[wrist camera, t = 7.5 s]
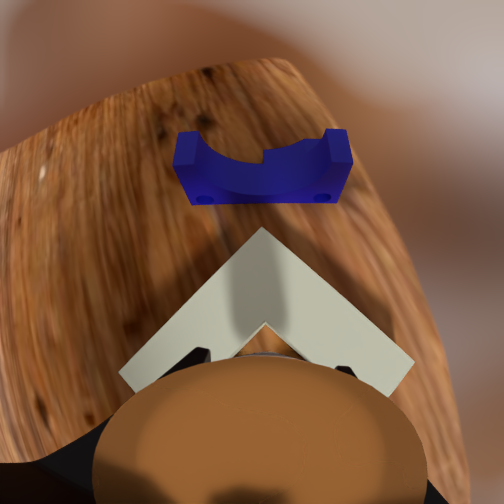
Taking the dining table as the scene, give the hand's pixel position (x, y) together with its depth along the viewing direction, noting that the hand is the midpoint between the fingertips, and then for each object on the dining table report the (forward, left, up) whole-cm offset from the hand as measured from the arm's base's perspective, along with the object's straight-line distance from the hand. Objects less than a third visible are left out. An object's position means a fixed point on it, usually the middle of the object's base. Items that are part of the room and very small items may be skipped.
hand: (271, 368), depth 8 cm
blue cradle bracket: (+10, +10, -13) cm, 19 cm away
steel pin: (-1, -1, -7) cm, 7 cm away
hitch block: (-1, -1, -13) cm, 13 cm away
